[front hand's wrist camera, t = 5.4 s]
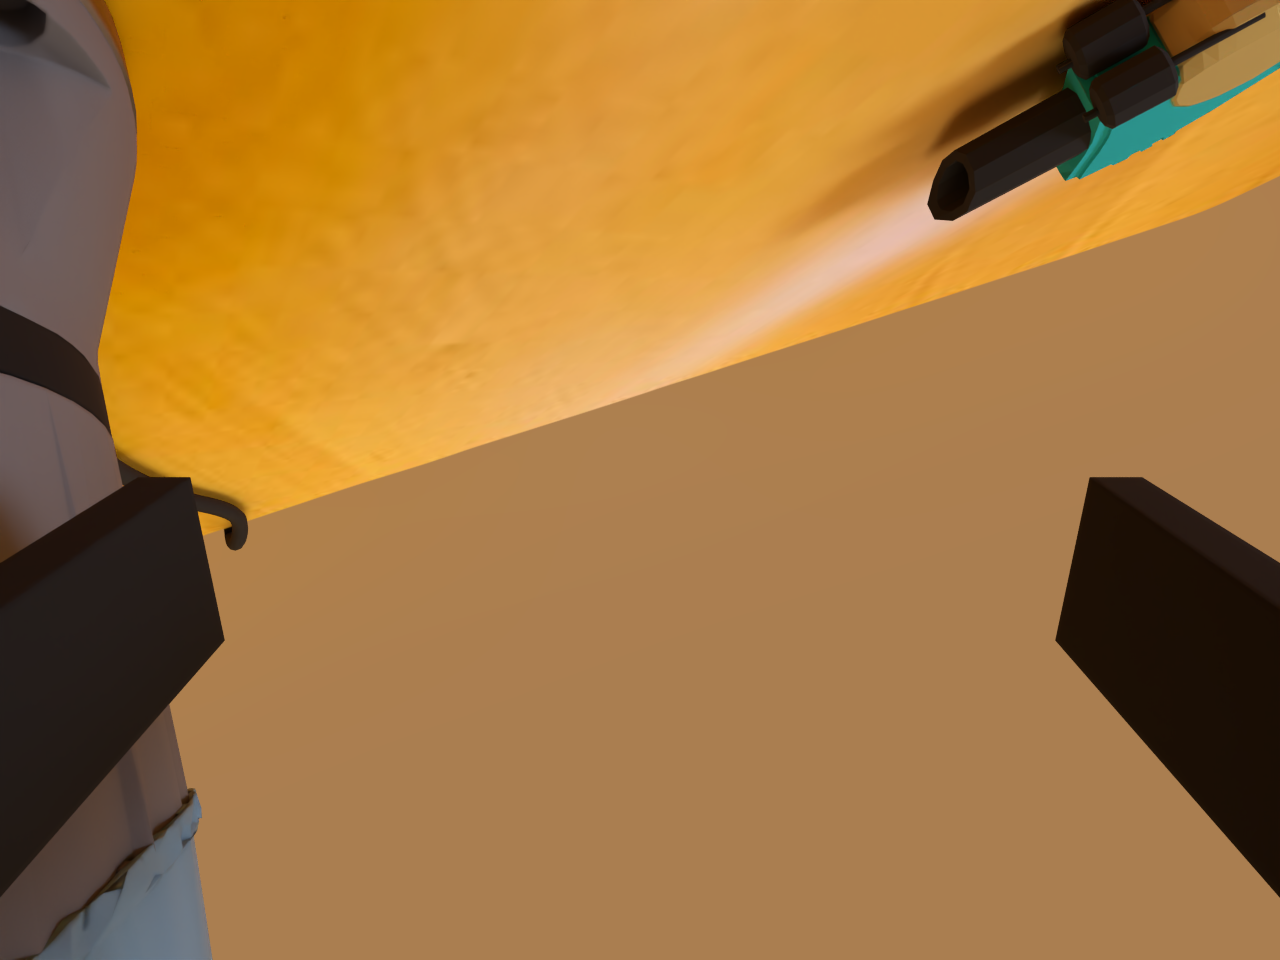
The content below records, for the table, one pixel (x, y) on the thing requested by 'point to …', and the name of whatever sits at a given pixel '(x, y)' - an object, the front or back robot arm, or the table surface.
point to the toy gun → (1118, 94)
